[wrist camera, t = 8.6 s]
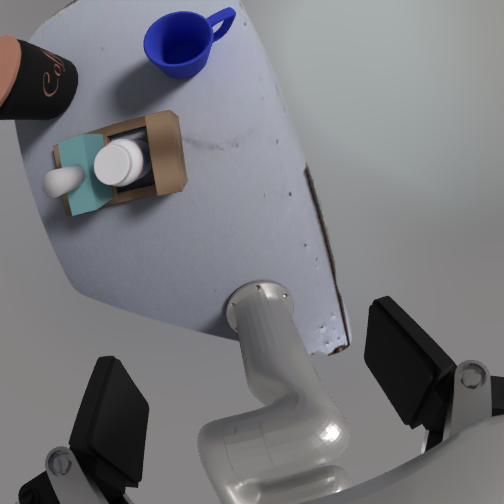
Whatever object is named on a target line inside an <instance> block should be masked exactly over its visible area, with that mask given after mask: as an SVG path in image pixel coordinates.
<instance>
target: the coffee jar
mask: <svg viewBox="0 0 504 504" xmlns="http://www.w3.org/2000/svg"><path fill="white" fill-rule="evenodd" d="M77 86H78V73H77V70H76V67H75V66H74V65H73V64H72V62H71V61H68V60H66V59H64V58H62V57H60V56H58V55H56V54H54V53H51V52H49V51H47V50H45V49H42V48H40V47H38V46H35V45H33V44H31V43H28V42H26V41H23V40H18V39H15V38H14V37H12V36H8V35H5V36H2V37H0V120H49V119H51V118H54V117H56V116H58V115H59V114H60V113H61V112H63V111H64V110H65V109H66V108H67V106H68V105H69V104H70V103H71V101H72V99H73V97H74V95H75V93H76V89H77Z"/></svg>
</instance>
